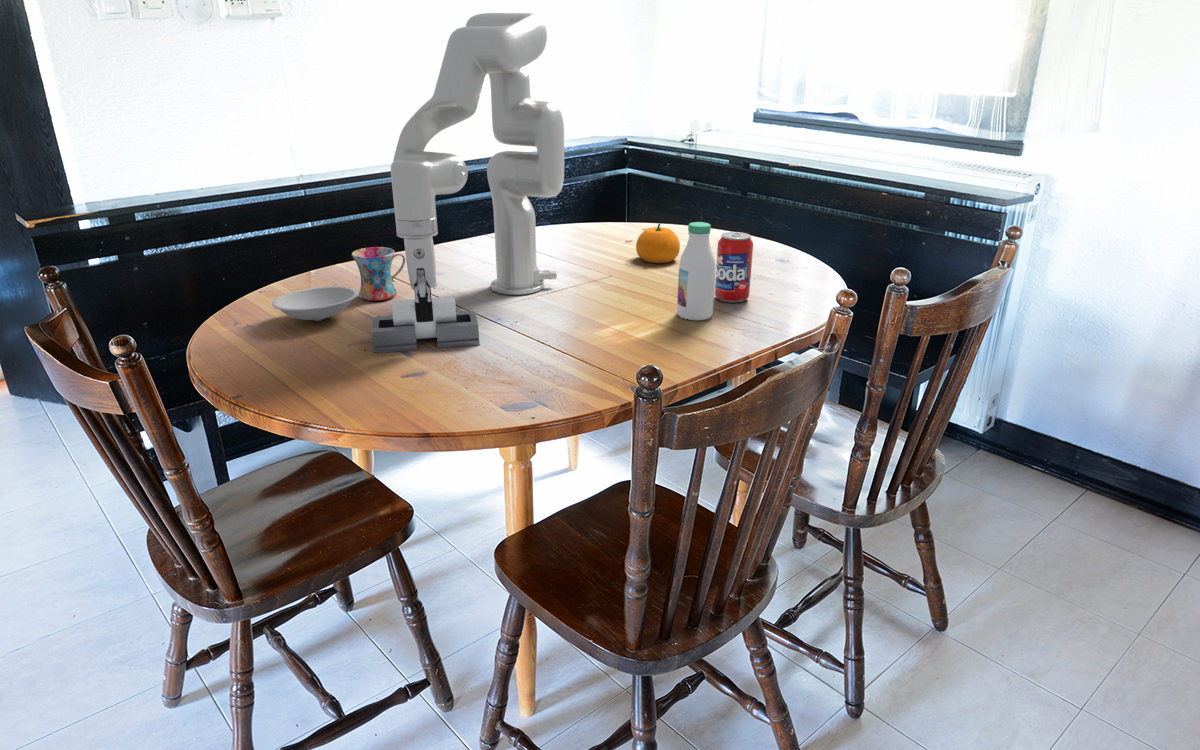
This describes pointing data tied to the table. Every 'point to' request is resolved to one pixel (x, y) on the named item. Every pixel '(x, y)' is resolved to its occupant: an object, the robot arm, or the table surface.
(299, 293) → the dish
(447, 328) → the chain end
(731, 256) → the soda can
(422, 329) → the gray trapezoid plate
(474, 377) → the table surface
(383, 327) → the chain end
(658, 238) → the fruit
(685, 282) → the milk bottle
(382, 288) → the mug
